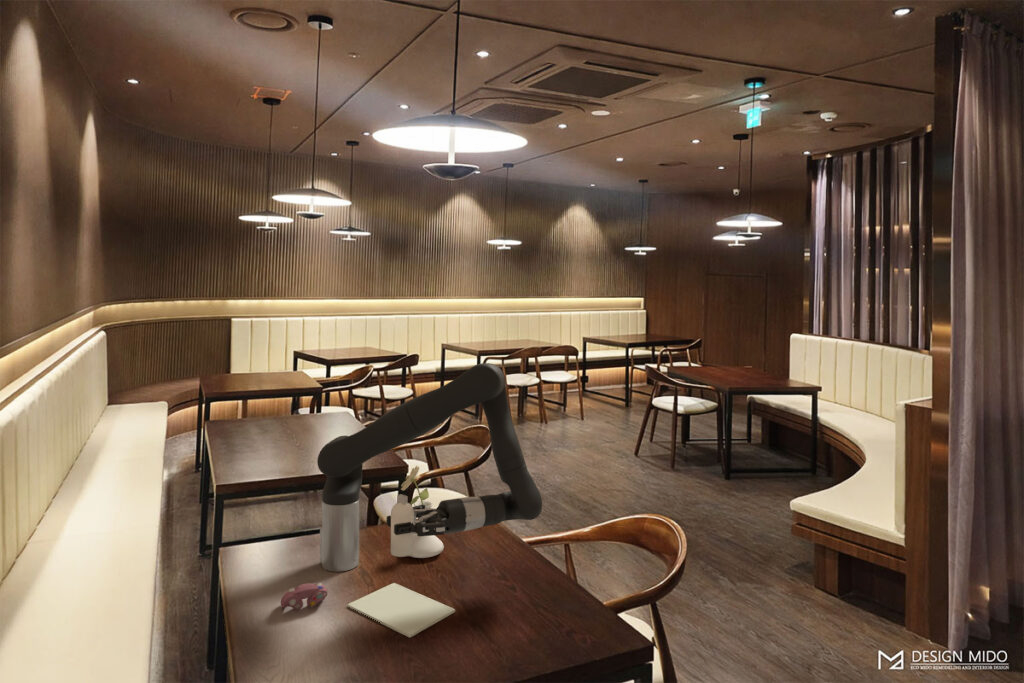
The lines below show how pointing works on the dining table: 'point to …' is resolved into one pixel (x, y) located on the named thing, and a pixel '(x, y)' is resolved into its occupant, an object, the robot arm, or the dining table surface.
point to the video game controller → (304, 595)
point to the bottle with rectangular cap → (399, 514)
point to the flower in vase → (421, 544)
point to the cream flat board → (401, 609)
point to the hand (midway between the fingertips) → (390, 525)
